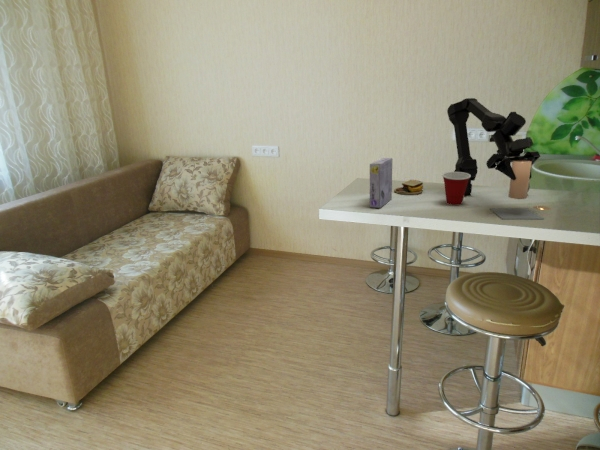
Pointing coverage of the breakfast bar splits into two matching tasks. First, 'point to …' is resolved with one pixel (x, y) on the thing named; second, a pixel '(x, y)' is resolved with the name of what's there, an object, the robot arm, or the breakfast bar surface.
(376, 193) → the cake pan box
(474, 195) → the breakfast bar surface
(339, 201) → the breakfast bar surface
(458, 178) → the plastic cup
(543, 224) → the breakfast bar surface
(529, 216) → the pad
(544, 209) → the copper marker
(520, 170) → the terracotta canister
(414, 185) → the toy sandwich meal
